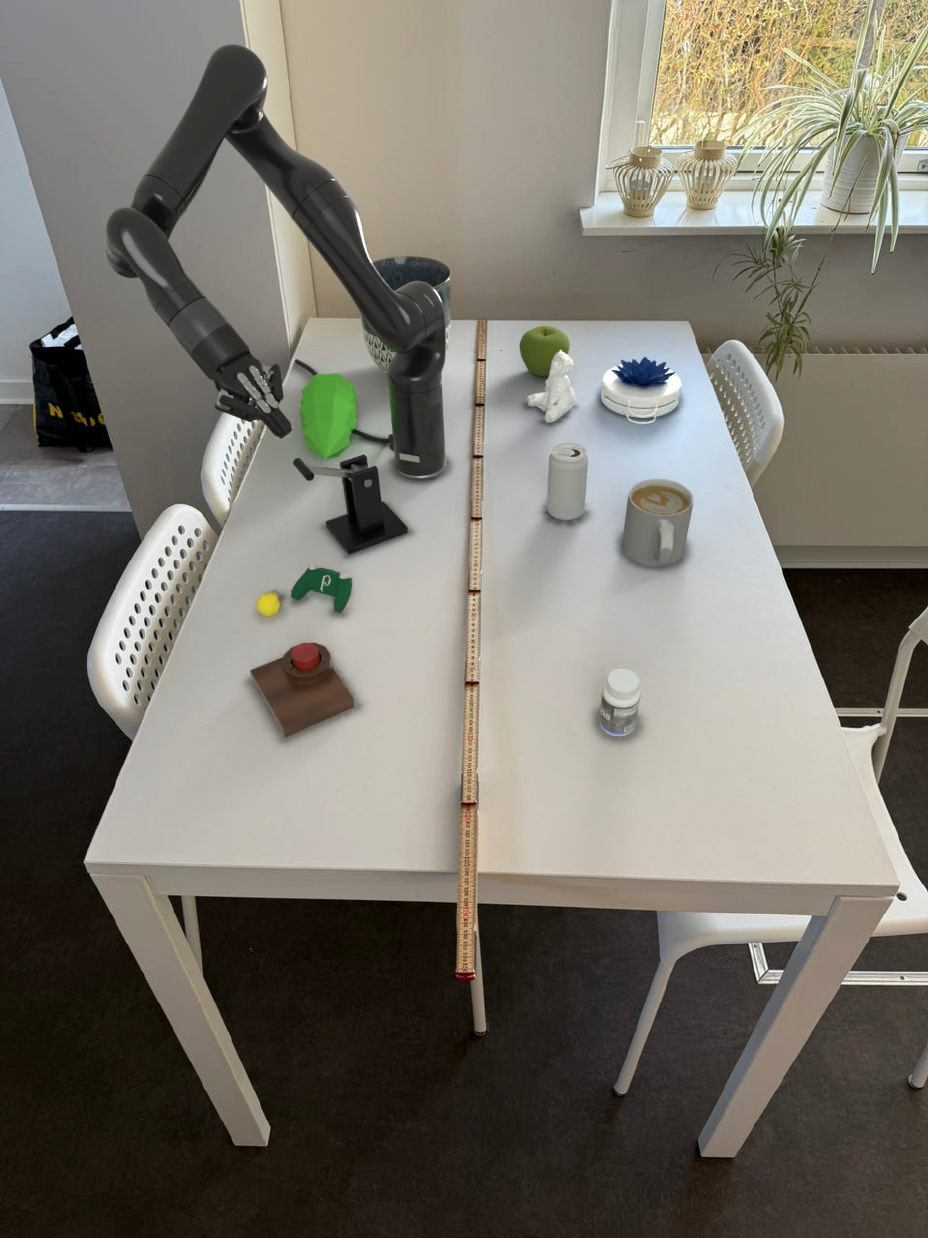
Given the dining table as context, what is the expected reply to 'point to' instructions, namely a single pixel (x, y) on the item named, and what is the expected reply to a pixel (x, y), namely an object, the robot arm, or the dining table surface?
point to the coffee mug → (657, 522)
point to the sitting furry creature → (556, 389)
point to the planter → (398, 275)
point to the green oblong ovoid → (328, 414)
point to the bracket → (364, 511)
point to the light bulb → (269, 603)
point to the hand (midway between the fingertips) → (286, 434)
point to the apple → (542, 348)
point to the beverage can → (567, 481)
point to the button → (305, 656)
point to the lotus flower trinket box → (641, 389)
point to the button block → (301, 691)
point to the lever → (324, 470)
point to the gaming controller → (324, 585)
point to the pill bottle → (619, 702)
